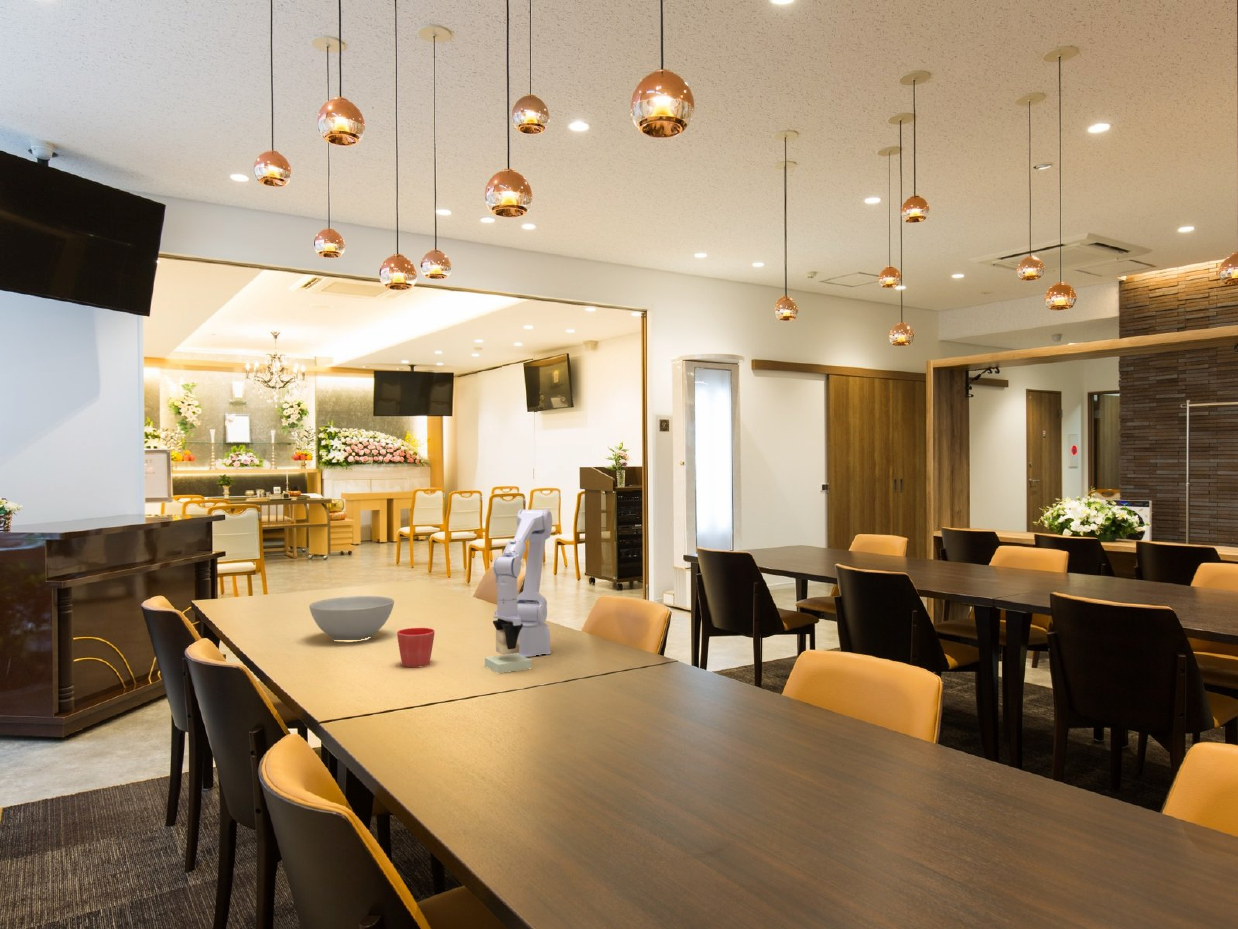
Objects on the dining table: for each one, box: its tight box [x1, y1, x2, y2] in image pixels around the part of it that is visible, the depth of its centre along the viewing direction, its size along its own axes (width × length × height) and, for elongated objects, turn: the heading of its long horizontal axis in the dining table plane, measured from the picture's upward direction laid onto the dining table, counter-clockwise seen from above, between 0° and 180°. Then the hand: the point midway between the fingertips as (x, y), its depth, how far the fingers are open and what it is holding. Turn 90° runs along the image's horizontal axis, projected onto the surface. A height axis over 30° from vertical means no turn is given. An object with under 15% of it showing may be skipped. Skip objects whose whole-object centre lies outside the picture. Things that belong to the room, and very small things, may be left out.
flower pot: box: [396, 627, 435, 668], centre depth 235 cm, size 11×11×10 cm
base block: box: [484, 653, 532, 674], centre depth 230 cm, size 10×10×3 cm
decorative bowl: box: [309, 595, 395, 640], centre depth 271 cm, size 27×27×12 cm
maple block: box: [495, 629, 519, 655], centre depth 230 cm, size 5×5×6 cm
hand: (507, 646), depth 230 cm, fingers closed on maple block, 5 cm apart
